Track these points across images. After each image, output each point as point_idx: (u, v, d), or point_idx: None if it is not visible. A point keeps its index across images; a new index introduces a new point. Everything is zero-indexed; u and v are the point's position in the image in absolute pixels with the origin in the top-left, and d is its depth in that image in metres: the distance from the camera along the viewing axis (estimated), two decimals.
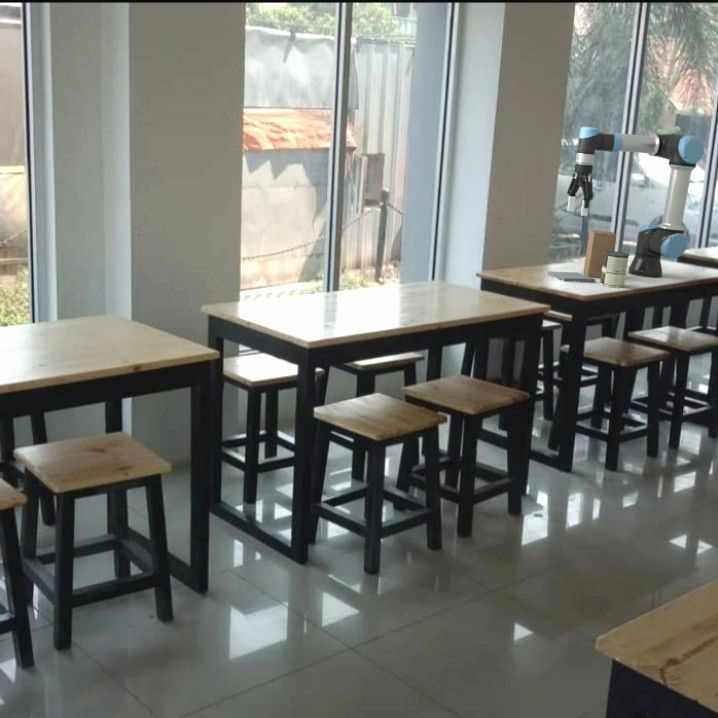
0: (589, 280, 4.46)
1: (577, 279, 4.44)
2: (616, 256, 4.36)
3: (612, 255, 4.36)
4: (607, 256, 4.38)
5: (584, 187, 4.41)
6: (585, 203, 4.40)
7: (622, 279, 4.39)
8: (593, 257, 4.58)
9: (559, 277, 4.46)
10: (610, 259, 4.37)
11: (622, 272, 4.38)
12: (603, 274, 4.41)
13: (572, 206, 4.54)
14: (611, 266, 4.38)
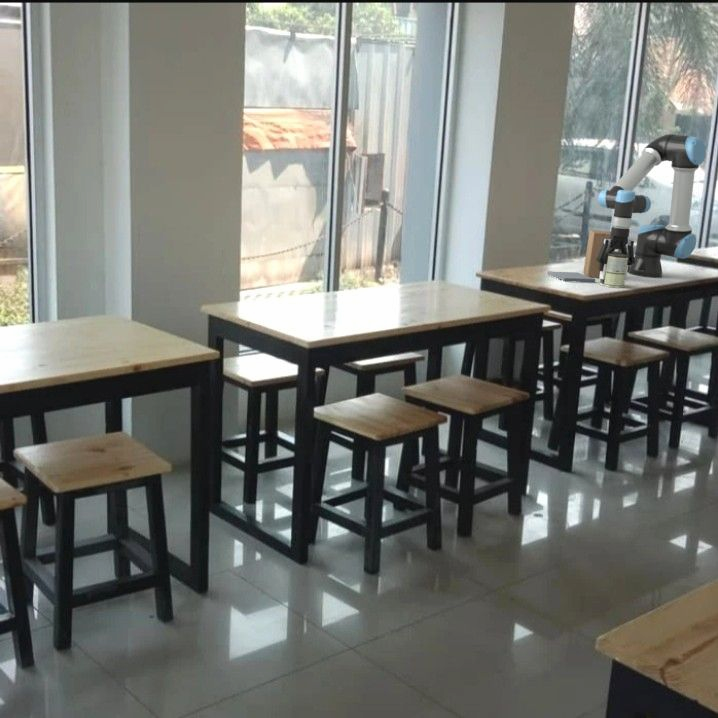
0: (589, 280, 4.46)
1: (577, 279, 4.44)
2: (616, 256, 4.36)
3: (612, 255, 4.36)
4: None
5: (607, 250, 4.39)
6: None
7: (622, 279, 4.39)
8: (593, 257, 4.58)
9: (559, 277, 4.46)
10: (610, 259, 4.37)
11: (622, 271, 4.38)
12: None
13: None
14: (611, 265, 4.38)
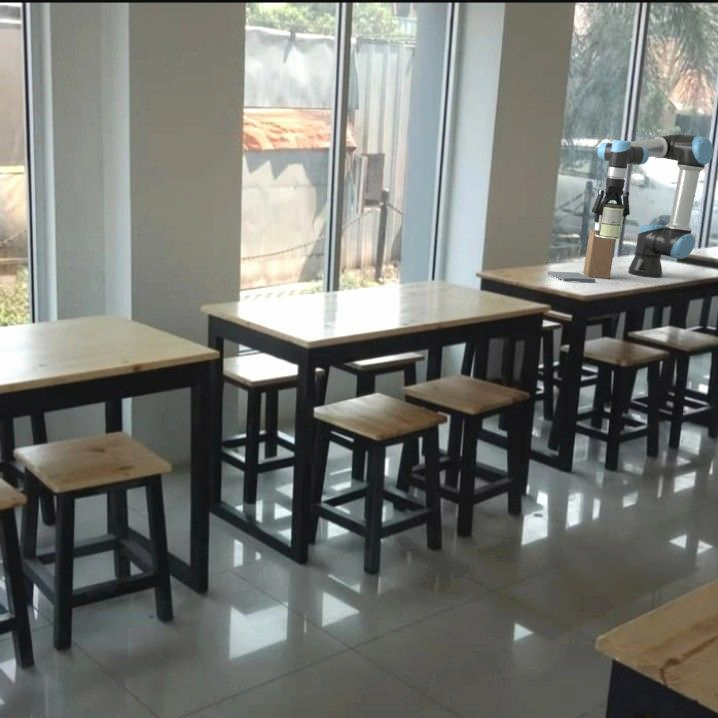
0: (589, 280, 4.46)
1: (577, 279, 4.44)
2: (612, 207, 4.33)
3: (608, 206, 4.33)
4: (603, 207, 4.35)
5: (603, 201, 4.36)
6: None
7: (618, 230, 4.37)
8: (593, 257, 4.58)
9: (559, 277, 4.46)
10: (606, 210, 4.34)
11: (618, 222, 4.35)
12: None
13: None
14: (606, 216, 4.35)
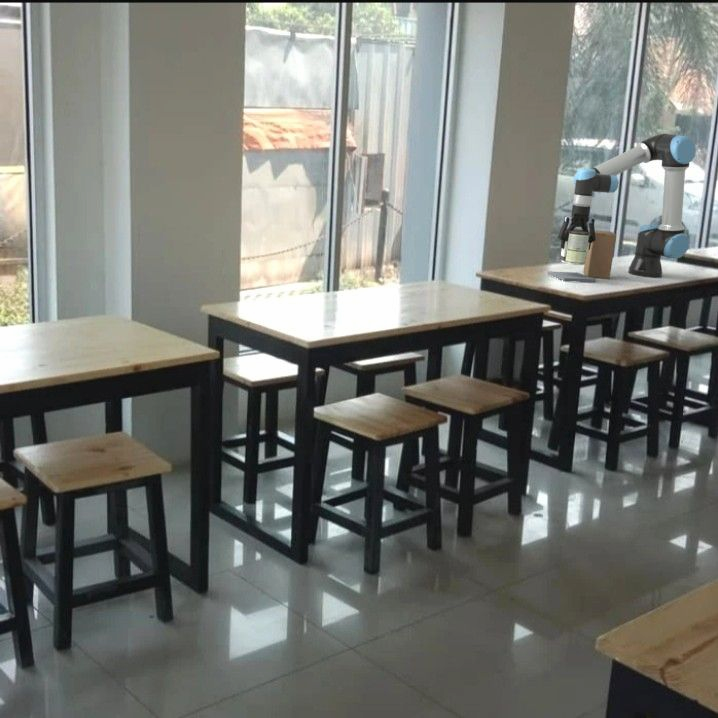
0: (589, 280, 4.46)
1: (577, 279, 4.44)
2: (577, 233, 4.42)
3: (573, 232, 4.42)
4: None
5: (568, 228, 4.45)
6: None
7: (583, 256, 4.45)
8: (593, 257, 4.58)
9: (559, 277, 4.46)
10: (571, 236, 4.43)
11: (583, 249, 4.44)
12: None
13: None
14: (572, 243, 4.44)
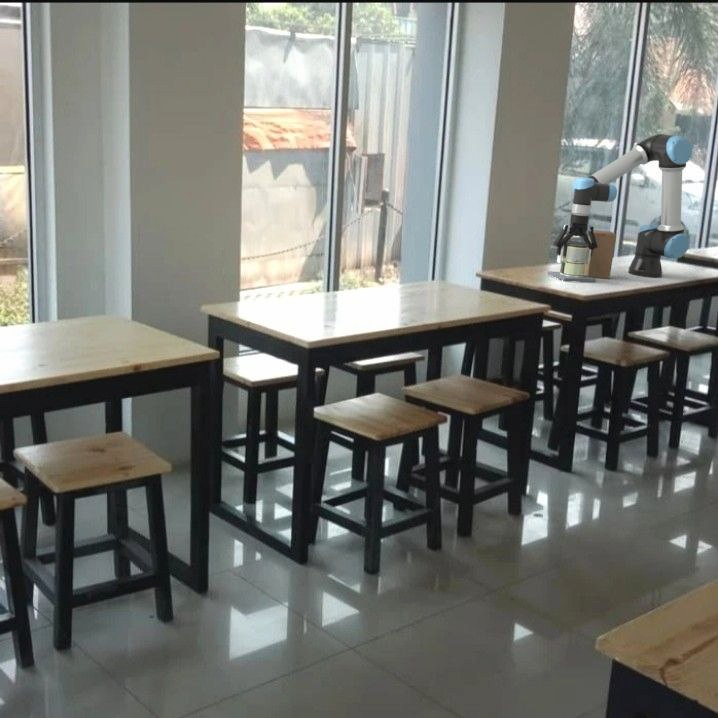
0: (589, 280, 4.46)
1: (577, 279, 4.44)
2: (575, 246, 4.43)
3: (571, 245, 4.44)
4: (566, 246, 4.46)
5: (566, 235, 4.46)
6: None
7: (581, 269, 4.47)
8: (593, 257, 4.58)
9: (559, 277, 4.46)
10: (569, 249, 4.45)
11: (581, 261, 4.45)
12: (563, 264, 4.48)
13: (587, 258, 4.51)
14: (570, 255, 4.45)
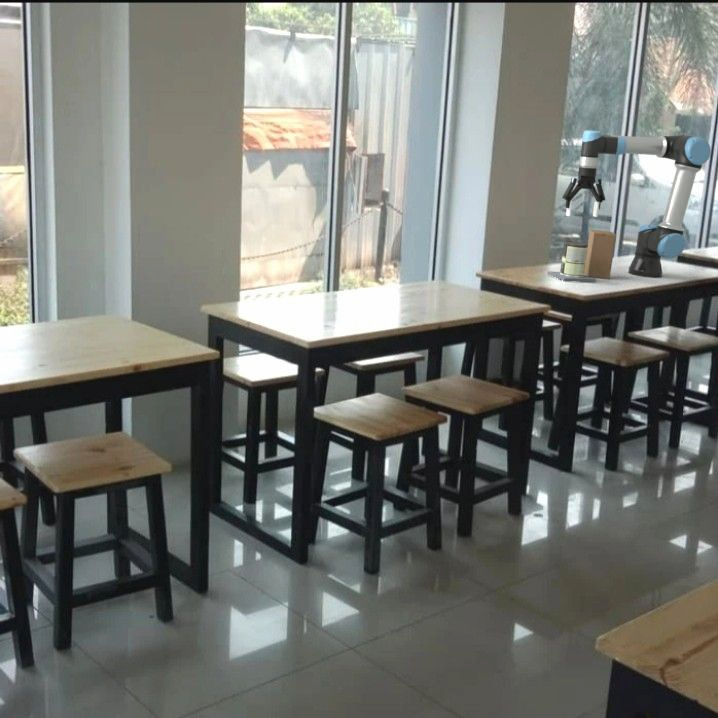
0: (589, 280, 4.46)
1: (577, 279, 4.44)
2: (575, 246, 4.43)
3: (571, 245, 4.44)
4: (566, 246, 4.46)
5: (574, 188, 4.49)
6: None
7: (581, 269, 4.47)
8: (593, 257, 4.58)
9: (559, 277, 4.46)
10: (569, 249, 4.45)
11: (581, 261, 4.46)
12: (563, 264, 4.48)
13: (595, 211, 4.55)
14: (570, 255, 4.45)
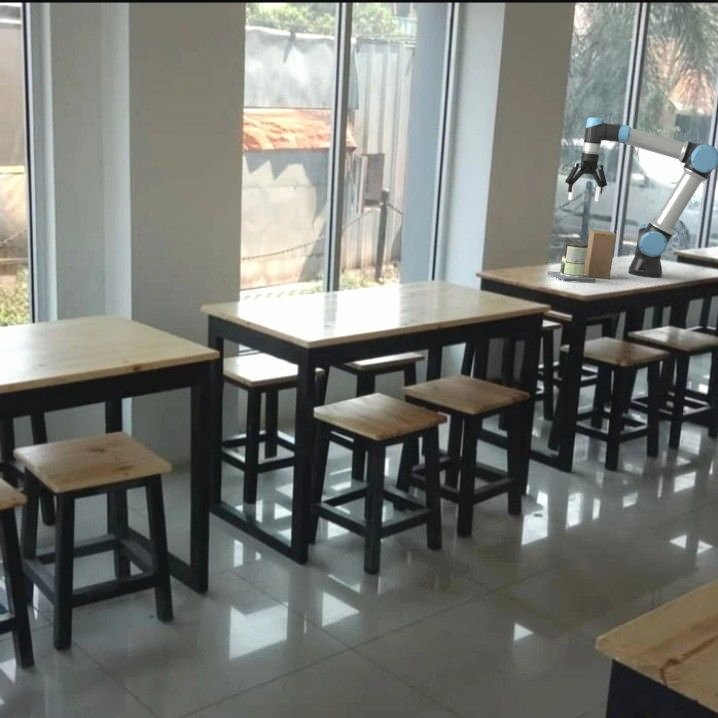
0: (589, 280, 4.46)
1: (577, 279, 4.44)
2: (575, 246, 4.43)
3: (571, 245, 4.44)
4: (566, 246, 4.46)
5: (577, 173, 4.66)
6: None
7: (581, 269, 4.47)
8: (593, 257, 4.58)
9: (559, 277, 4.46)
10: (569, 249, 4.45)
11: (581, 261, 4.45)
12: (563, 264, 4.48)
13: (597, 196, 4.71)
14: (570, 255, 4.45)
